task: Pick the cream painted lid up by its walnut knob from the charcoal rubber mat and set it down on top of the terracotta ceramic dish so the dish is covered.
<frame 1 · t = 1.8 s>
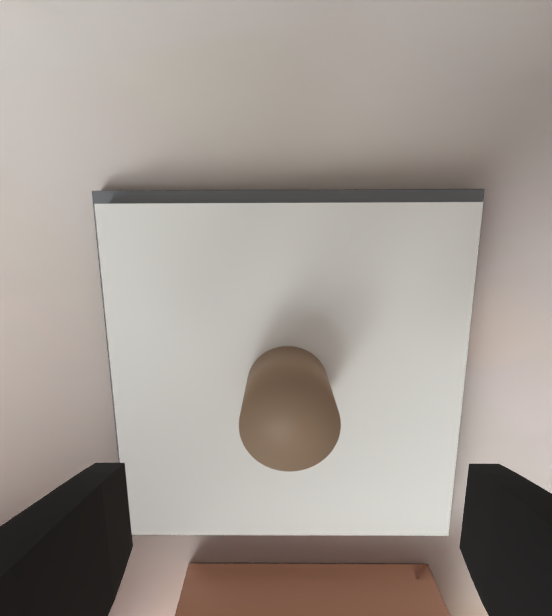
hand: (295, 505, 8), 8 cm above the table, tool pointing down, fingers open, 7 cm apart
mat: (286, 369, 16), on the table
lid: (286, 374, 15), point 1 cm above the table, touching mat
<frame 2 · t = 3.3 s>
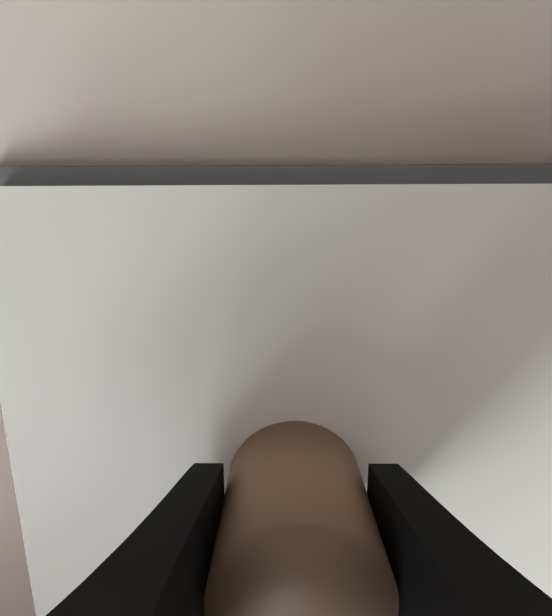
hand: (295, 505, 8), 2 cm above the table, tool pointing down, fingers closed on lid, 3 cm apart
mat: (292, 442, 10), on the table
lid: (292, 455, 10), point 1 cm above the table, touching gripper, mat
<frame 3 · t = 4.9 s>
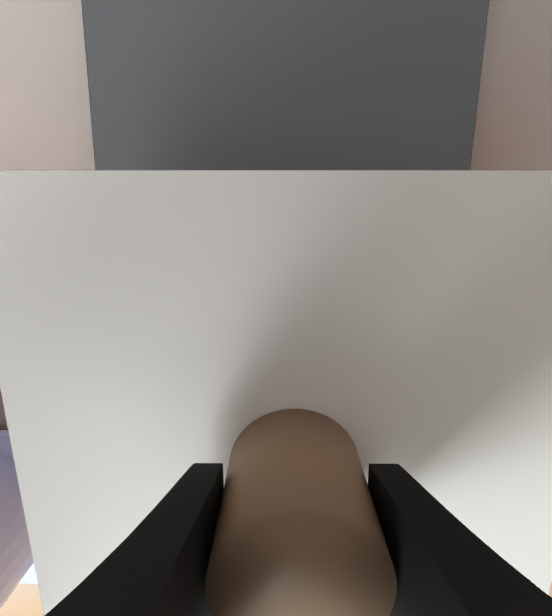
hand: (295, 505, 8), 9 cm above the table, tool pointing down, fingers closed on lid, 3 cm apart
mat: (281, 176, 15), on the table
lid: (292, 441, 10), point 7 cm above the table, touching gripper
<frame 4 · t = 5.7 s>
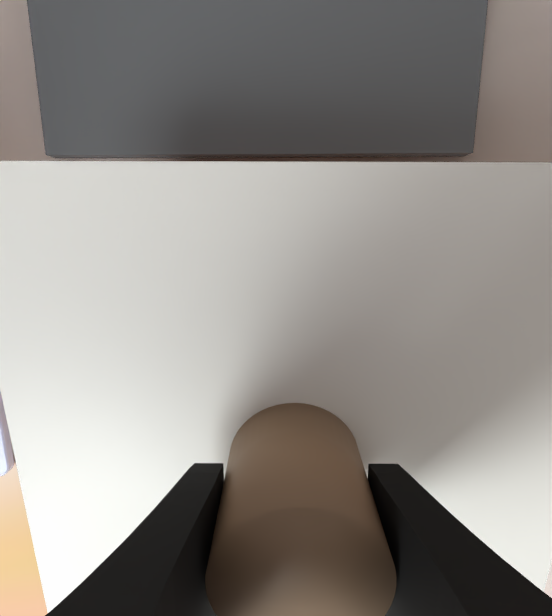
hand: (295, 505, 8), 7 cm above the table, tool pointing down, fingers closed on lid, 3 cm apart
lid: (292, 435, 10), point 5 cm above the table, touching gripper
when the fingers open (7 cm above the table, at t = 6.4 s): lid stays where it is, resting on dish.
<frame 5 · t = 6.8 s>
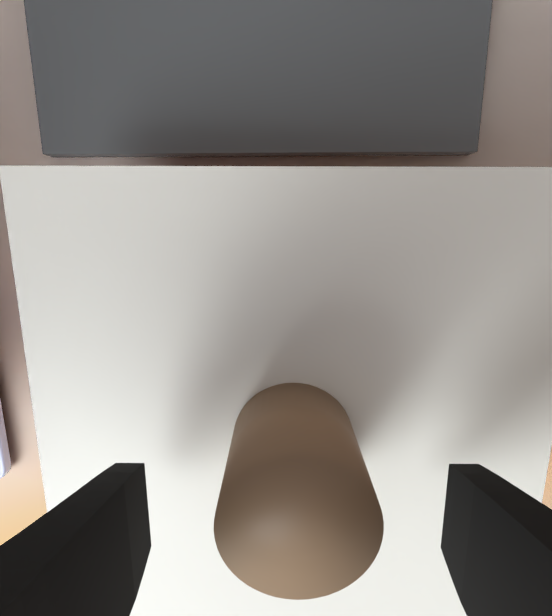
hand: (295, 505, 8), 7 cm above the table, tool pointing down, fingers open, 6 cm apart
lid: (291, 418, 11), point 4 cm above the table, touching dish
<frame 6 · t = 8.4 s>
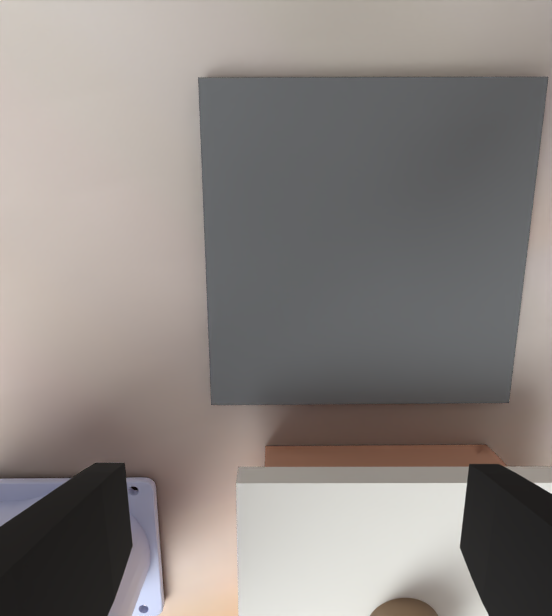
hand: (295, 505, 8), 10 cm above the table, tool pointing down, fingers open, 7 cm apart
dish: (371, 540, 20), on the table
mat: (363, 253, 17), on the table
lid: (395, 605, 16), point 4 cm above the table, touching dish
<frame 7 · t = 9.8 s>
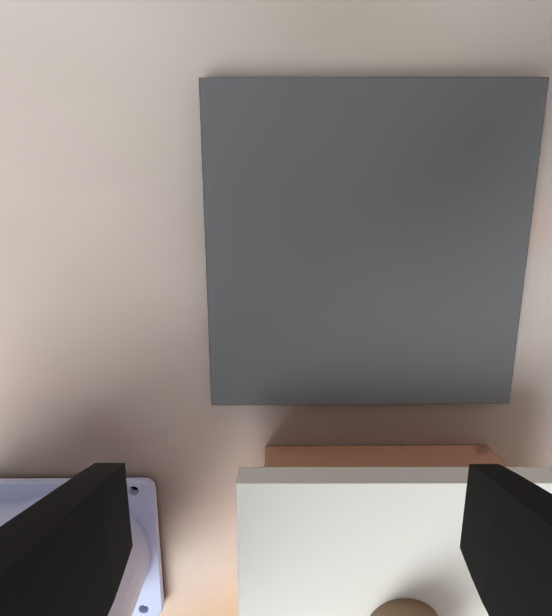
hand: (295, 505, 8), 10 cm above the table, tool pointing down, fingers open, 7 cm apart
dish: (371, 540, 20), on the table
mat: (363, 253, 17), on the table
lid: (395, 605, 16), point 4 cm above the table, touching dish
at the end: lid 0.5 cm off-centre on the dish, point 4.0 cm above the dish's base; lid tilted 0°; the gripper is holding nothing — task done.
